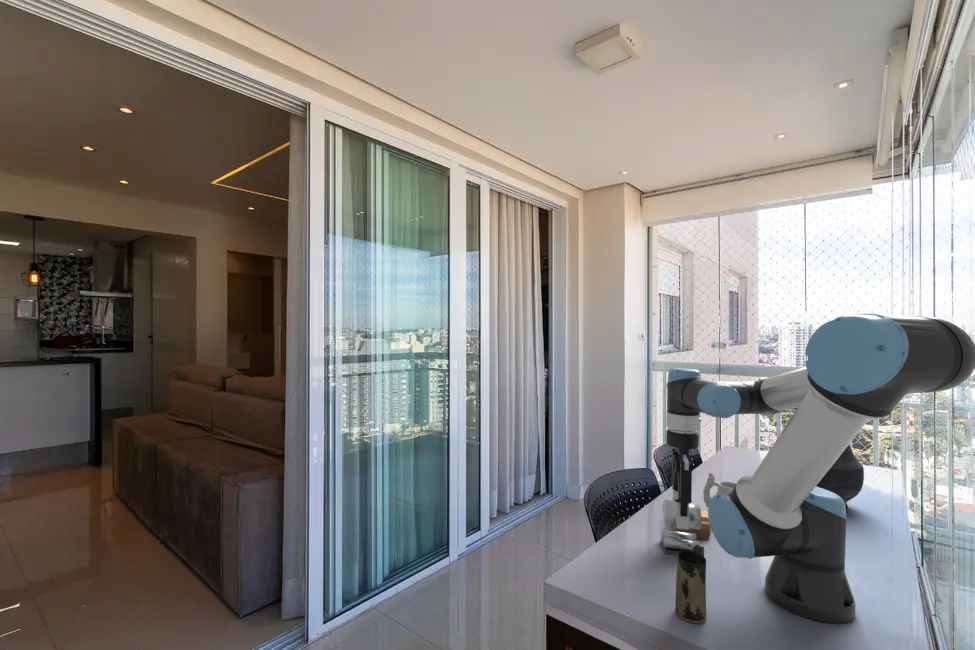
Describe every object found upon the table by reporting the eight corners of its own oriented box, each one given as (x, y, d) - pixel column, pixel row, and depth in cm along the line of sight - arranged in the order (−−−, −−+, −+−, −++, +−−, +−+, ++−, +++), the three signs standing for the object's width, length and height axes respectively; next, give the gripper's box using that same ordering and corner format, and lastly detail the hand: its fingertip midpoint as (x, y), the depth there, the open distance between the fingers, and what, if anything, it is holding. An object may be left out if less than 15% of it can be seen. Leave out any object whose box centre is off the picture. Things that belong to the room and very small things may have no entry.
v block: (694, 545, 117) (694, 531, 117) (700, 558, 110) (700, 544, 110) (661, 540, 119) (661, 527, 119) (664, 553, 112) (665, 539, 112)
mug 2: (700, 628, 84) (701, 563, 84) (670, 615, 88) (671, 552, 88) (714, 610, 90) (715, 548, 90) (685, 598, 94) (687, 539, 94)
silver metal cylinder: (695, 522, 117) (696, 499, 117) (700, 534, 111) (701, 509, 111) (662, 518, 119) (663, 495, 119) (665, 529, 113) (666, 505, 113)
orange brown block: (710, 536, 123) (711, 518, 123) (674, 531, 125) (674, 513, 125) (707, 528, 128) (707, 510, 128) (672, 524, 130) (672, 506, 130)
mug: (736, 526, 129) (737, 483, 129) (696, 512, 139) (697, 472, 139) (749, 520, 134) (750, 479, 134) (709, 506, 143) (710, 468, 143)
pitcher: (809, 511, 141) (811, 414, 141) (783, 489, 161) (785, 403, 161) (875, 518, 137) (877, 418, 137) (840, 494, 157) (842, 406, 157)
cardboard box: (709, 539, 121) (709, 524, 121) (676, 535, 122) (677, 520, 123) (699, 521, 132) (699, 507, 132) (669, 517, 134) (670, 504, 134)
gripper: (707, 440, 105) (704, 541, 105) (691, 423, 123) (689, 509, 123) (672, 437, 107) (669, 537, 107) (661, 421, 125) (659, 506, 125)
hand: (680, 522), depth 115 cm, fingers closed on silver metal cylinder, 6 cm apart
